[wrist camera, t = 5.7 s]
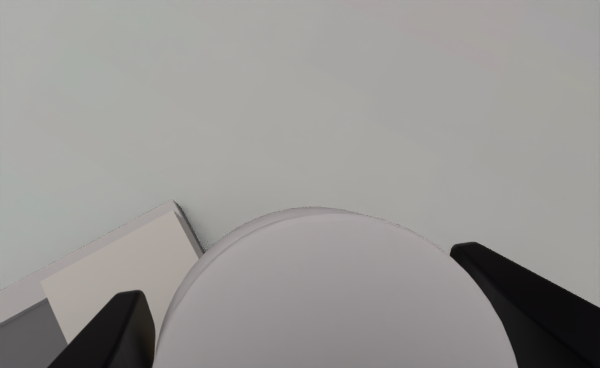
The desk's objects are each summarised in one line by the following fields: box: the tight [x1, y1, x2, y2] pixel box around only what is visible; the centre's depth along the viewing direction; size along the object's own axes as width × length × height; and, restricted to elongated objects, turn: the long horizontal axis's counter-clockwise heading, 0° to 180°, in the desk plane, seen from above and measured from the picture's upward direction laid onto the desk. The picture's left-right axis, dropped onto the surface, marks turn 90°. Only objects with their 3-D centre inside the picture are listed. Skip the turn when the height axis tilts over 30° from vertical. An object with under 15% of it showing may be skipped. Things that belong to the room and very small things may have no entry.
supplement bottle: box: [152, 207, 518, 368], centre depth 9 cm, size 5×5×10 cm
